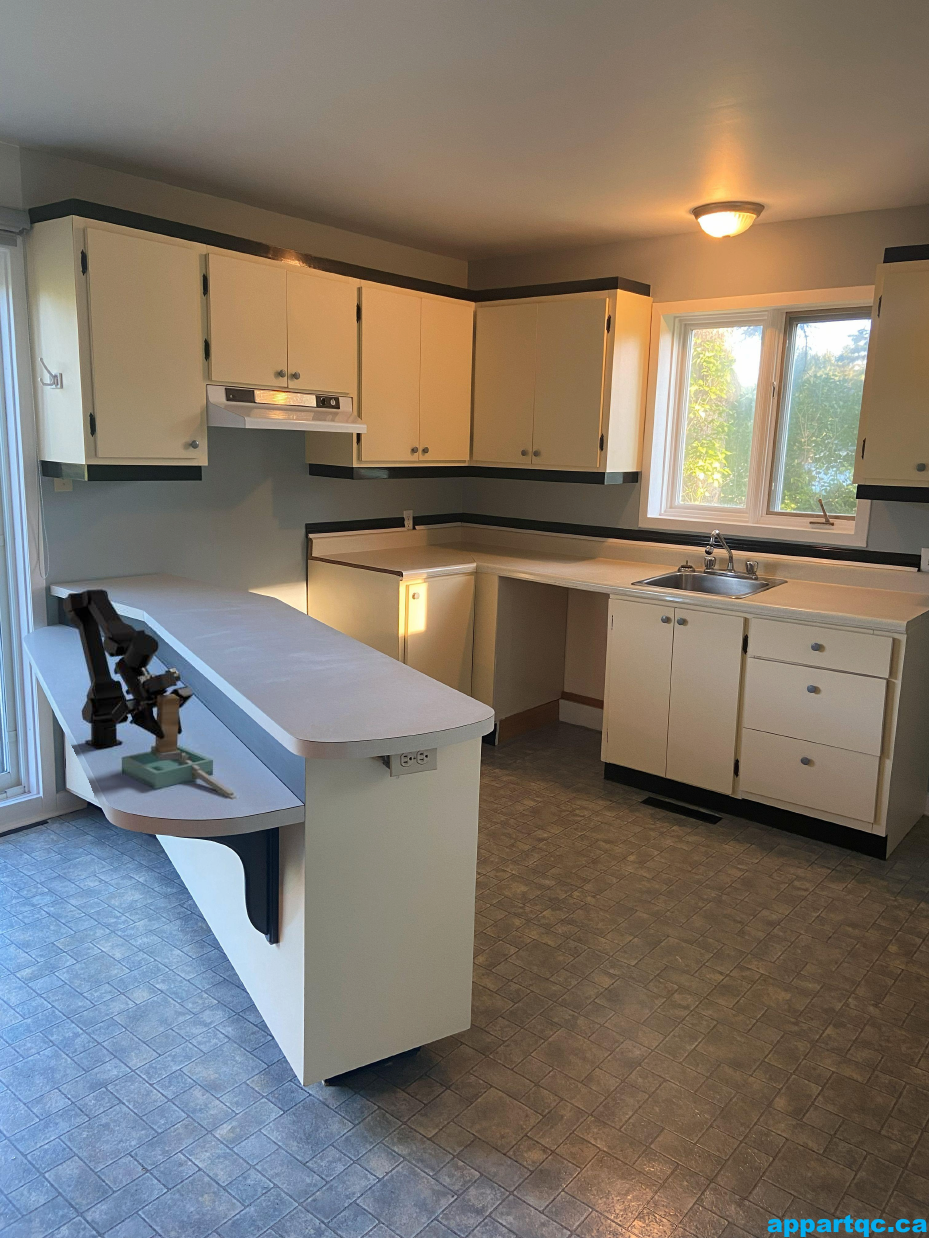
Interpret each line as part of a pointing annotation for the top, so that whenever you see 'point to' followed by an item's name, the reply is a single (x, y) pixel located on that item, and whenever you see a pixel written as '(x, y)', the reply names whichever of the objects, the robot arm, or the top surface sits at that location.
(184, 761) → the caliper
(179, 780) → the tray
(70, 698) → the top surface
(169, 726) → the tall tan wooden block
